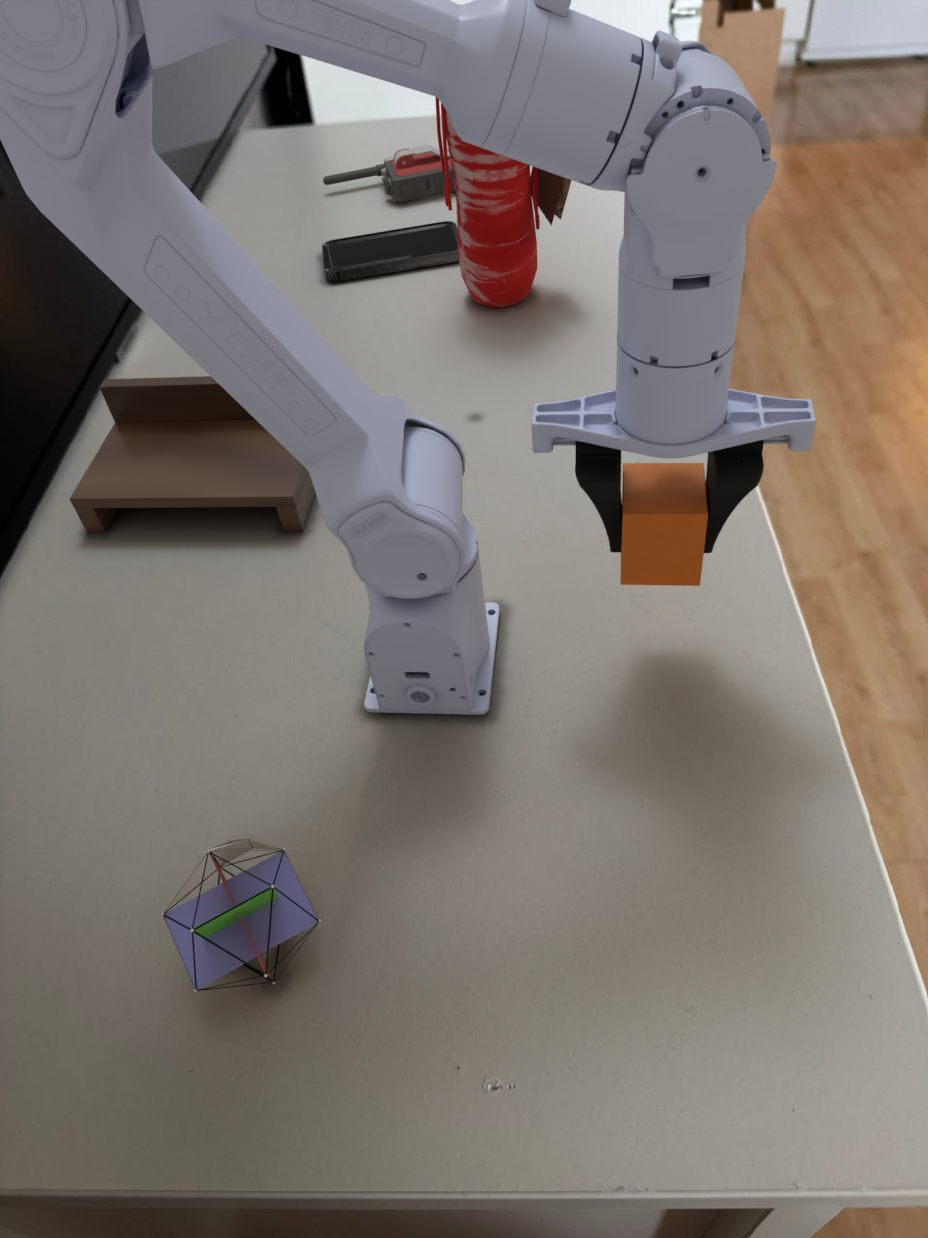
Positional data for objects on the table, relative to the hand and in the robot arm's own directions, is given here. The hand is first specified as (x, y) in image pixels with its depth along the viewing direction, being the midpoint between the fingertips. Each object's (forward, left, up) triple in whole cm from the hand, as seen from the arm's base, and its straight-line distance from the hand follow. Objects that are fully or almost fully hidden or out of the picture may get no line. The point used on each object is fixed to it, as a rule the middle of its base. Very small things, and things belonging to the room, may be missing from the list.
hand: (661, 541), depth 57 cm
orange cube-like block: (0, 0, -1) cm, 1 cm away
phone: (+56, +26, -8) cm, 62 cm away
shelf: (+16, +35, -8) cm, 40 cm away
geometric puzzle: (-22, +21, -9) cm, 32 cm away
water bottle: (+47, +12, -9) cm, 49 cm away
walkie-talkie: (+73, +27, -6) cm, 78 cm away
